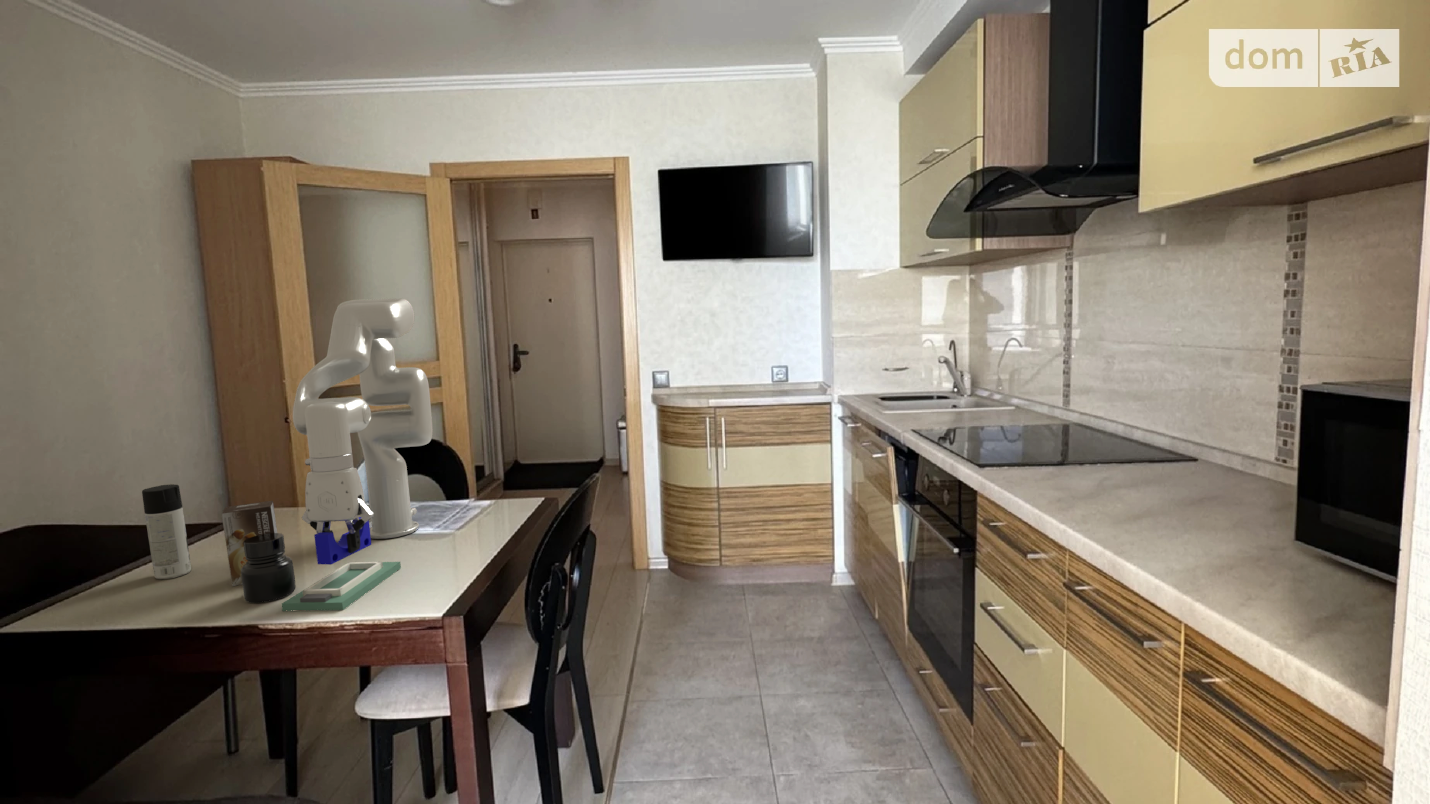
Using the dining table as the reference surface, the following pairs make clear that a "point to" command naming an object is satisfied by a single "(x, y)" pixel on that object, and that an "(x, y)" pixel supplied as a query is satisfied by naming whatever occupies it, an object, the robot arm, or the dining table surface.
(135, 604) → the dining table surface
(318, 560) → the cable clip
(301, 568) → the dining table surface
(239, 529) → the coffee box
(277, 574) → the ink bottle
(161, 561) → the spray can
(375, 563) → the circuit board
